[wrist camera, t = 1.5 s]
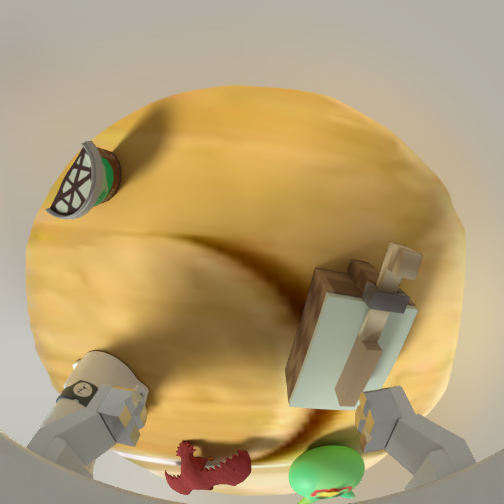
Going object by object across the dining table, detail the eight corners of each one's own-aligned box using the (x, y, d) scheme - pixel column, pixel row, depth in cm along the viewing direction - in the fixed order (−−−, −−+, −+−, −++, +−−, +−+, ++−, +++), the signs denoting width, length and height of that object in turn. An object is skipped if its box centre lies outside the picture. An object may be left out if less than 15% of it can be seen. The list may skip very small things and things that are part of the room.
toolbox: (353, 375, 50) (372, 424, 37) (285, 369, 50) (290, 422, 37) (395, 268, 44) (436, 300, 31) (319, 252, 44) (341, 284, 31)
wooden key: (374, 336, 36) (385, 354, 31) (358, 334, 36) (368, 353, 31) (405, 245, 32) (422, 255, 28) (389, 241, 32) (405, 250, 28)
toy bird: (364, 429, 54) (379, 476, 40) (349, 464, 59) (359, 505, 45) (289, 437, 55) (293, 488, 41) (284, 471, 59) (286, 514, 45)
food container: (102, 226, 44) (68, 239, 34) (79, 204, 43) (43, 212, 33) (142, 166, 41) (111, 165, 31) (117, 144, 40) (83, 139, 30)
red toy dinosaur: (164, 449, 64) (182, 493, 56) (140, 452, 57) (159, 500, 48) (242, 421, 59) (266, 474, 51) (220, 425, 52) (247, 485, 43)
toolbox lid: (365, 401, 42) (375, 426, 36) (288, 397, 42) (291, 424, 36) (411, 303, 37) (431, 322, 31) (324, 289, 37) (335, 310, 31)
